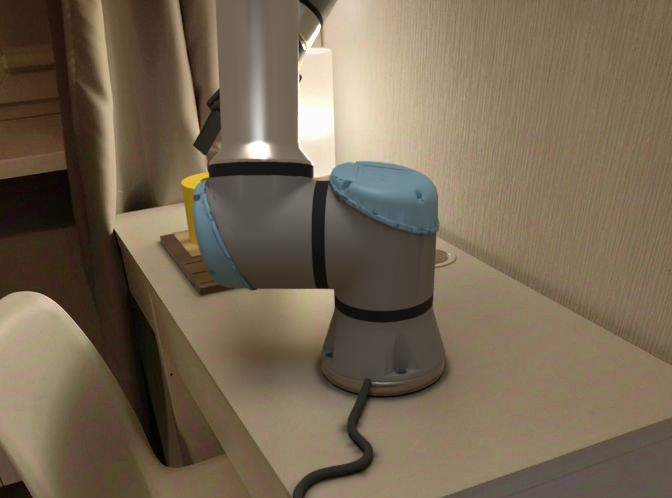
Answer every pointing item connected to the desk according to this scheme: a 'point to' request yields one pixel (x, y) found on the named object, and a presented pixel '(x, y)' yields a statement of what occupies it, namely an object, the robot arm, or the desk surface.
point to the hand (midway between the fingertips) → (221, 157)
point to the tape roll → (191, 200)
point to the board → (190, 261)
